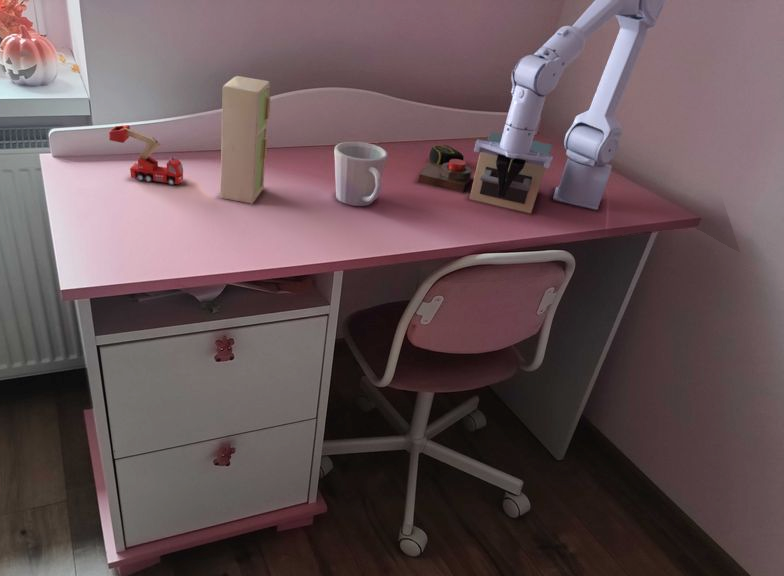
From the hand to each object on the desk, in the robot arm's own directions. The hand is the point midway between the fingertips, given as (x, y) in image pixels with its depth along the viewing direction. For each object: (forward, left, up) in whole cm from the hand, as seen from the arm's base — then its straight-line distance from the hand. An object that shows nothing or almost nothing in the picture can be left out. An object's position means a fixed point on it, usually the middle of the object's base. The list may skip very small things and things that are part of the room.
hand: (501, 194), depth 133 cm
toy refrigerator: (+47, +19, -5) cm, 51 cm away
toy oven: (0, -13, -5) cm, 14 cm away
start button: (+11, -13, -1) cm, 17 cm away
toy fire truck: (+66, +23, -5) cm, 70 cm away
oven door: (0, -5, -5) cm, 6 cm away
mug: (+26, +10, -5) cm, 28 cm away
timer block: (+13, -13, -5) cm, 19 cm away
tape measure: (+16, -24, -5) cm, 29 cm away
